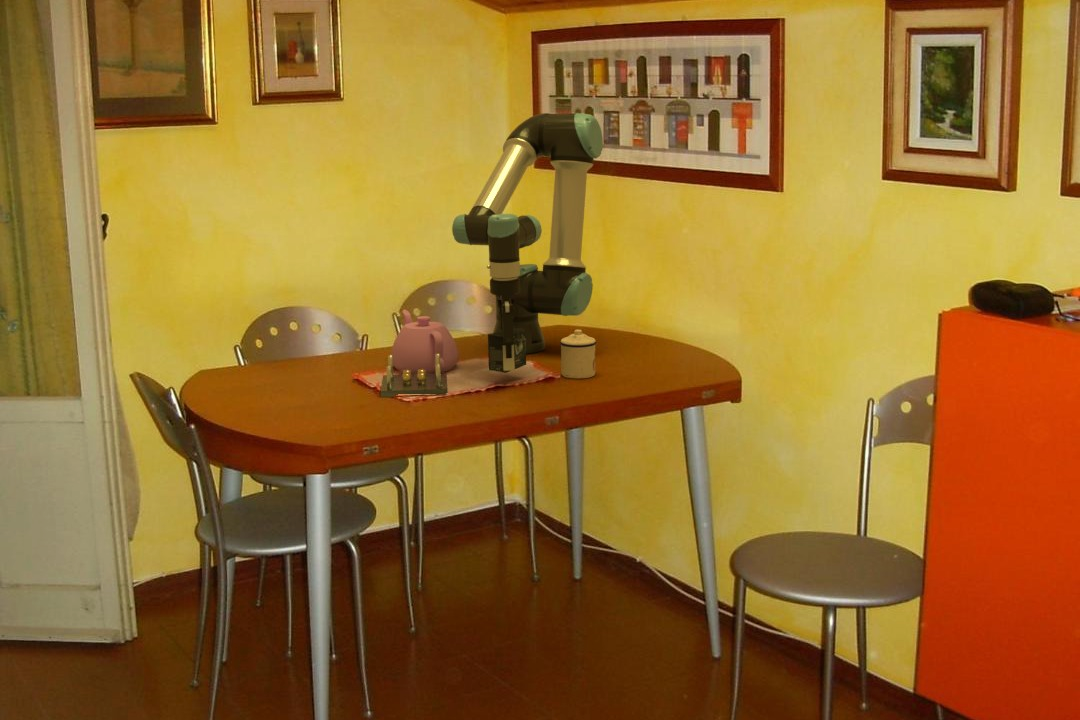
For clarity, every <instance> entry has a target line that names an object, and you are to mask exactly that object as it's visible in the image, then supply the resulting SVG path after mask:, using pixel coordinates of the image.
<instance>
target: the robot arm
mask: <svg viewBox="0 0 1080 720" xmlns="http://www.w3.org/2000/svg"><path fill="white" fill-rule="evenodd" d="M601 128H602V127H601V125H600V122H599V120H598V119H597V118H596V117H595V116H594V115H593V114H589V113H580V112H579V113H578V112H575V113H569V112H568V113H567V112H566V113H550V112H549V113H547V112H546V113H545V112H544V113H538V114H535V115H532V116H530V117H528V118H527V119H525V120H524V121H523V122H521V123H520V124H519V125H517V126H516V127H515V128H514V129H513V131H511V132H510V134H509V135H508V136H507V138H506V139H505V141H504V143H503V146H502V152H503V153H502V154H501V156H500V158H499V160H498V162H497V163H496V165H495V167H494V169H493V170H492V172H491V174H490V176H489V178H488V179H487V181H486V183H485V184H484V186H483V188H482V190H481V192H480V194H479V195H478V198H477V199H476V201H475V202H474V204H473V205H472V208H471V209H470V211H469V213H468V214H466V213H464V214H459V215H456V217H455V218H454V220H453V221H452V227H451V231H452V236H453V238H454V240H455V242H456V243H458V244H461V245H469V246H488V261H489V264H487V265H486V268H487V269H488V270H489V277H490V279H489V292H490V293H491V294H492V296H495V318H496V319H495V320H496V321H495V325H494V328H493V331H492V333H495V332H498V331H500V330H503V342H500V346H503V369H504V371H509V372H511V371H510V370H512V371H516V369H515V366H514V335H513V328H520V329H526V355H528V354H533V353H539V352H541V351H544V350H545V349H546V339H545V336H544V334H543V330H542V329H541V328H542V327H541V324H540V322H539V314H541V315H542V314H543V315H544V314H545V315H553V316H554V315H555V316H563V317H568V316H572V317H574V316H579V315H582V314H583V313H584V312H585V311H586V310H587V308H588V306H589V304H590V302H591V298H592V294H593V290H594V289H593V288H594V287H593V286H594V284H593V278H592V276H591V275H590V274H589V273H587V272H586V271H587V270H586V269H587V268H586V267H587V266H586V265H585V264H584V262H582V248H583V235H584V233H583V232H584V219H585V206H586V205H585V204H586V191H587V178H588V175H587V174H588V171H589V170H590V169H592V167H593V166H594V160H595V159H598V158H599V157H600V156H601V154H602V151H603V146H604V141H603V138H604V137H603V133H602V129H601ZM543 157H545V158H550V160H549V161H550V162H549V163H550V164H551V166H552V167H553V168H554V181H553V184H554V185H553V197H552V198H553V200H552V213H551V228H550V240H549V241H550V243H549V255H548V256H549V257H548V258H547V260H545V262H543V263H542V270H539V266H538V265H537V264H534V263H526V264H521V259H520V249H523V248H526V247H530V246H532V245H533V244H535V243H536V242H538V241H539V240H540V238H541V236H542V229H543V228H542V225H541V223H540V221H539V220H538V219H537V218H536V217H535V216H534V215H531V214H526V215H524V214H523V215H520V216H517V215H516V214H514V213H503V212H504V211H505V209H506V207H507V206H508V203H509V202H510V200H511V199H512V197H513V194H514V193H515V191H516V189H517V187H518V185H519V184H520V182H521V180H522V178H523V177H524V175H525V173H526V171H527V169H528V168H529V167H531V166H533V165H534V163H535V162H536V160H537V159H538V158H543ZM506 339H508V340H506Z"/></svg>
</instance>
